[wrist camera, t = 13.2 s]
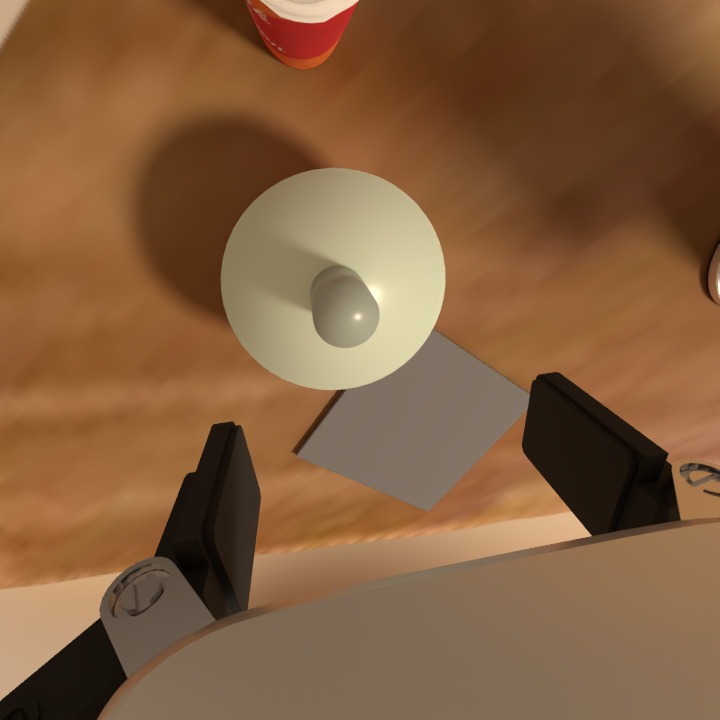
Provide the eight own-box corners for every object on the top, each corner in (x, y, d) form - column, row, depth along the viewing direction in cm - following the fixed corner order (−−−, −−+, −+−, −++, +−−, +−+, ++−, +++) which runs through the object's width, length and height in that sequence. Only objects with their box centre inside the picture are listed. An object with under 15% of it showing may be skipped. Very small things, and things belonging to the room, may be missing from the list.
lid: (482, 258, 27) (526, 277, 22) (362, 412, 32) (375, 458, 27) (298, 108, 21) (299, 84, 16) (184, 323, 26) (155, 359, 21)
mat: (534, 397, 42) (536, 399, 42) (427, 508, 48) (428, 511, 47) (404, 309, 35) (406, 310, 34) (296, 453, 40) (296, 456, 40)
